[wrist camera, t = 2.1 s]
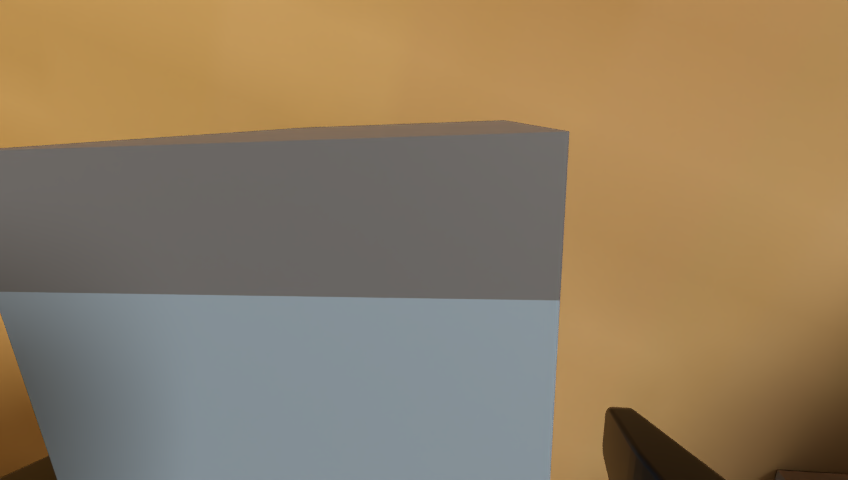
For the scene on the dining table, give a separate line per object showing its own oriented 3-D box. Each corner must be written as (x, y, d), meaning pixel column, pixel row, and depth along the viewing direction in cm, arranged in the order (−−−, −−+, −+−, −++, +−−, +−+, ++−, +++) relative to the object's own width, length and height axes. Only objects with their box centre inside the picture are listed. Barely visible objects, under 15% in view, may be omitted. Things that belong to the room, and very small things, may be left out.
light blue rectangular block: (504, 120, 8) (568, 131, 2) (498, 559, 11) (519, 1033, 5) (302, 127, 9) (-56, 150, 3) (348, 545, 12) (222, 964, 6)
